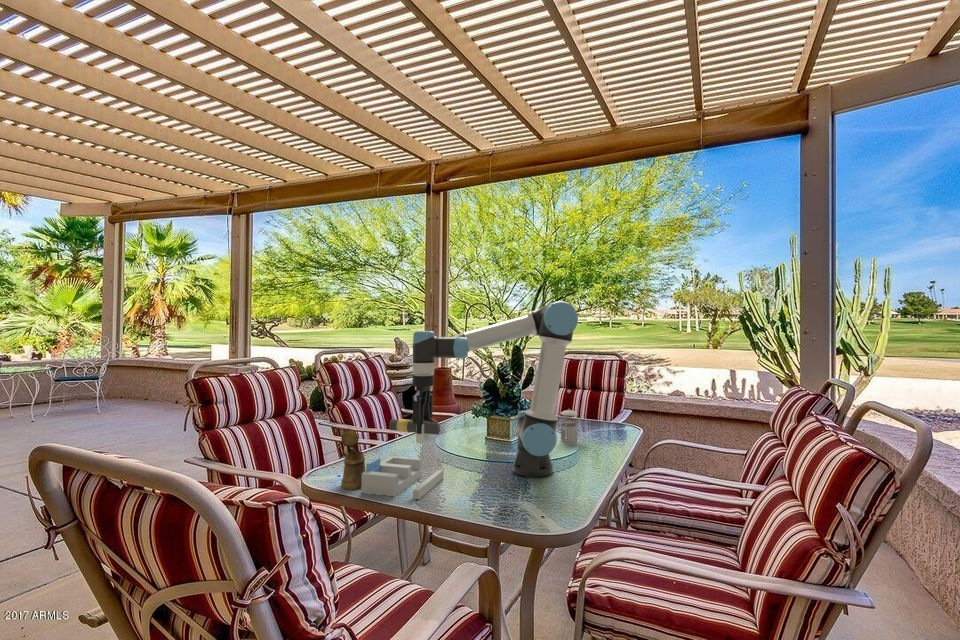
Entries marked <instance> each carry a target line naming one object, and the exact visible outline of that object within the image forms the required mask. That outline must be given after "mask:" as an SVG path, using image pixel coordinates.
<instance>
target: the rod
mask: <svg viewBox="0 0 960 640" xmlns="http://www.w3.org/2000/svg"><path fill="white" fill-rule="evenodd" d="M423 424H424V433H426V434H429V435H439V434H440V431H441V423H440V422H435V421H434V422H433V421H430V422H423ZM388 425H389V426H388V428H389V430H390V431H394V432H395V431H397V432H400V433H415V434H416V424H413V420H412V419H404V418H399V419H398V418H397V419H396V418H391V419H390V421H389V424H388Z"/></svg>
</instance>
